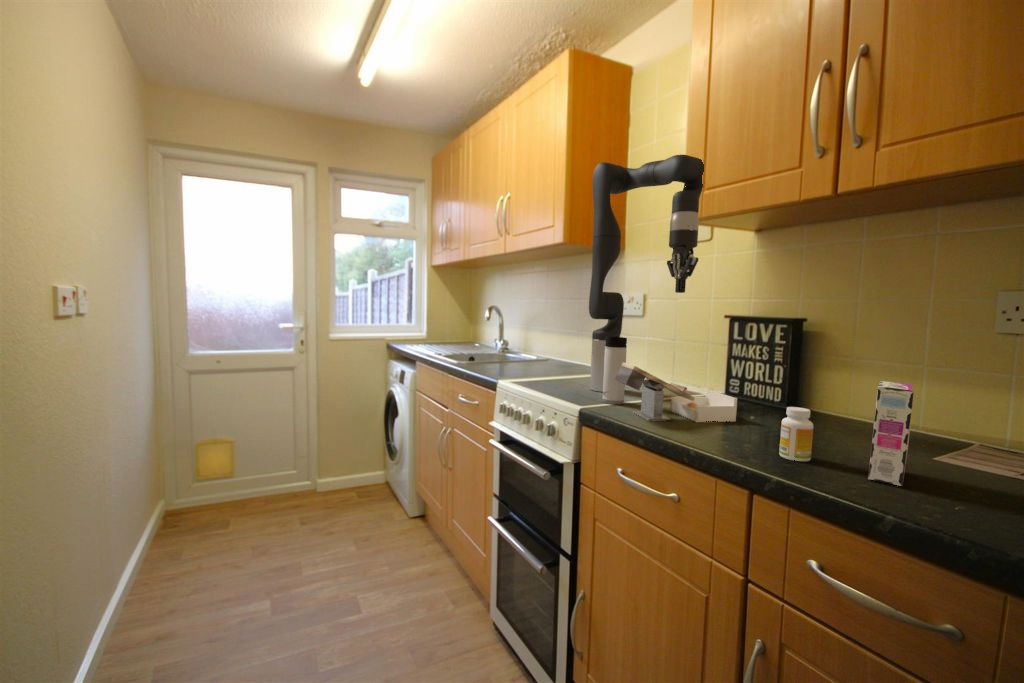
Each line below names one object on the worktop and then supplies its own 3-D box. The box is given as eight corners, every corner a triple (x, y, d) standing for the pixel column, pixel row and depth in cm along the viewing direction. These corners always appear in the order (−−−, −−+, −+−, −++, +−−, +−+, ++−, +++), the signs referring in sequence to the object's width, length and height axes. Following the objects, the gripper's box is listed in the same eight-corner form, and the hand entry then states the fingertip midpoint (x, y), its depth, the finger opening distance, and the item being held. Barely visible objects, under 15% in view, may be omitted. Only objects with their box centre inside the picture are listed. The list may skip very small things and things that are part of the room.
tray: (670, 411, 131) (671, 389, 131) (707, 410, 134) (709, 389, 133) (695, 422, 120) (697, 398, 119) (735, 421, 122) (737, 398, 121)
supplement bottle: (813, 458, 93) (817, 409, 92) (807, 464, 89) (811, 413, 88) (783, 451, 97) (786, 404, 96) (775, 457, 93) (779, 408, 92)
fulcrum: (632, 413, 128) (634, 378, 127) (653, 412, 129) (655, 378, 128) (648, 421, 119) (650, 384, 118) (670, 420, 120) (672, 384, 119)
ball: (690, 399, 127) (696, 408, 128) (681, 405, 127) (686, 415, 127) (697, 401, 124) (703, 411, 125) (688, 408, 124) (693, 418, 124)
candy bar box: (905, 488, 78) (915, 390, 77) (867, 480, 81) (876, 386, 80) (904, 471, 87) (913, 383, 85) (870, 465, 90) (878, 379, 88)
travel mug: (601, 403, 139) (604, 335, 137) (603, 399, 145) (606, 334, 143) (622, 405, 137) (626, 336, 135) (624, 401, 143) (627, 335, 141)
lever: (625, 383, 118) (636, 361, 118) (614, 379, 125) (625, 358, 125) (686, 415, 122) (697, 393, 122) (672, 408, 129) (682, 388, 129)
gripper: (659, 232, 138) (656, 292, 139) (684, 225, 125) (680, 291, 126) (683, 234, 139) (679, 293, 140) (710, 227, 126) (705, 292, 127)
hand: (680, 292), depth 133 cm, fingers closed
